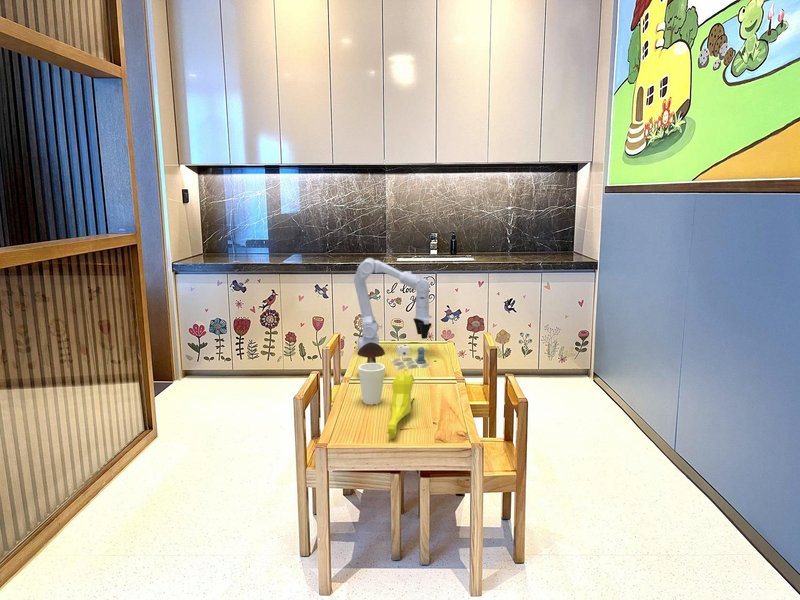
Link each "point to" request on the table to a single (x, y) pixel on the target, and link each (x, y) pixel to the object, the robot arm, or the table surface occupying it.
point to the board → (408, 363)
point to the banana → (400, 400)
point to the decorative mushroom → (371, 352)
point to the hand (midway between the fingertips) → (422, 336)
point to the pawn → (421, 356)
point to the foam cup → (371, 382)
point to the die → (403, 350)
